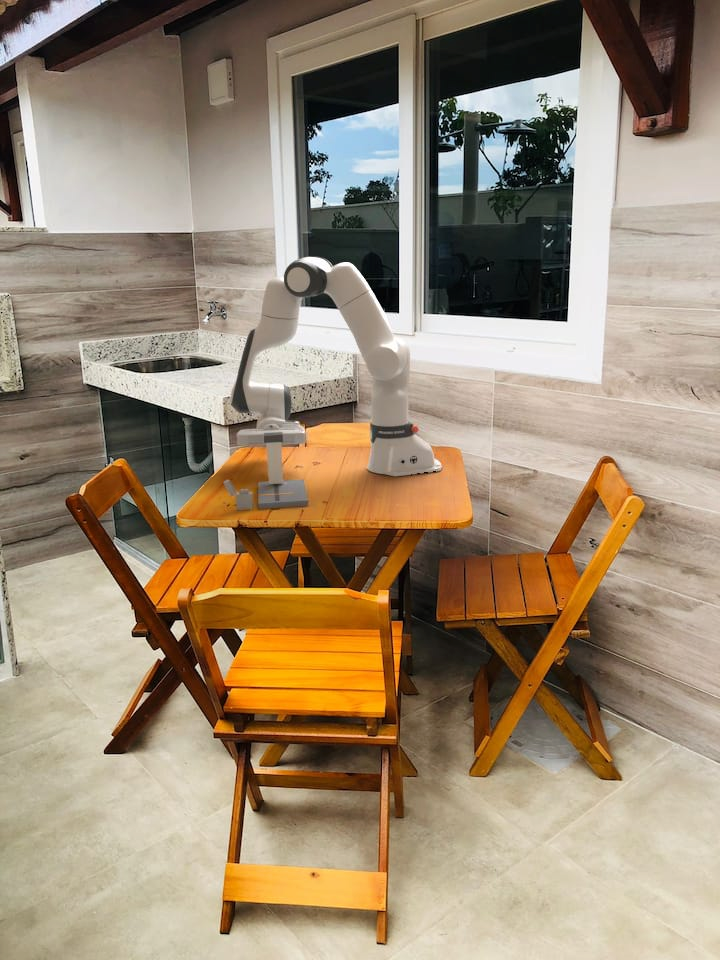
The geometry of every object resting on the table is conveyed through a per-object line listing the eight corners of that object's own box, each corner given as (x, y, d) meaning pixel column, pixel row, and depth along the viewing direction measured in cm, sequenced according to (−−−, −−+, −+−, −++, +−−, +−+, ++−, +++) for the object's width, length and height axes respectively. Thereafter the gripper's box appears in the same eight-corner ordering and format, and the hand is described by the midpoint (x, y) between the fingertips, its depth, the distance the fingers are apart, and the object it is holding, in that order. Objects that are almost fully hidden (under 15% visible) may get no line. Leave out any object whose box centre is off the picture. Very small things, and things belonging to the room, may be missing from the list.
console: (304, 484, 227) (303, 478, 226) (308, 505, 208) (308, 500, 207) (258, 487, 225) (258, 481, 225) (258, 509, 206) (258, 503, 206)
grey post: (285, 479, 224) (282, 431, 221) (285, 483, 221) (282, 434, 217) (266, 481, 224) (263, 432, 220) (266, 484, 220) (263, 435, 217)
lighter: (253, 507, 208) (251, 478, 206) (252, 509, 206) (250, 480, 204) (226, 508, 208) (223, 479, 205) (225, 510, 206) (223, 481, 204)
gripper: (236, 423, 237) (234, 433, 224) (304, 421, 240) (306, 431, 227) (237, 443, 239) (235, 455, 226) (304, 441, 242) (307, 452, 228)
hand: (271, 443), depth 226 cm, fingers closed
